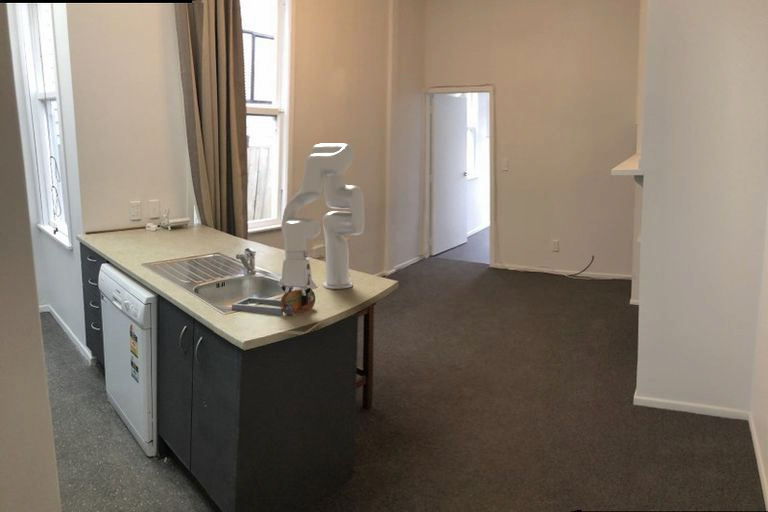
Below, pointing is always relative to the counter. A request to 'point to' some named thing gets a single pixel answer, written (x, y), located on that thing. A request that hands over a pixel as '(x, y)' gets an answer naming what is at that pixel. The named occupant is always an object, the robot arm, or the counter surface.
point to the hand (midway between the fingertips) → (297, 304)
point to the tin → (296, 302)
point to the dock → (260, 309)
